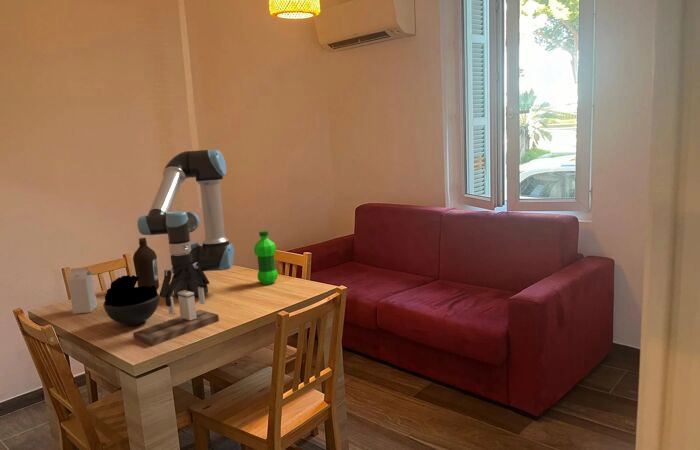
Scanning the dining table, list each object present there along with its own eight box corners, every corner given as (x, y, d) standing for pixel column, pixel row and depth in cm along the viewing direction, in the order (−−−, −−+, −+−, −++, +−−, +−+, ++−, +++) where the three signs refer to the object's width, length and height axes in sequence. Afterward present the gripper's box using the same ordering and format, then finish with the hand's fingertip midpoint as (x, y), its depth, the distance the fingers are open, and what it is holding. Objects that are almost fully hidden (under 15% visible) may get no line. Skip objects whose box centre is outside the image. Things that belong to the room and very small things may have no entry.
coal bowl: (142, 311, 215) (136, 268, 212) (172, 319, 204) (166, 273, 200) (96, 327, 199) (89, 280, 196) (125, 336, 188) (118, 286, 184)
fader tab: (189, 320, 191) (186, 294, 190) (180, 317, 195) (177, 292, 194) (197, 318, 194) (194, 292, 192) (187, 315, 198) (184, 290, 196)
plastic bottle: (261, 279, 253) (257, 229, 249) (282, 279, 251) (277, 229, 247) (254, 285, 244) (249, 233, 240) (275, 285, 242) (270, 233, 237)
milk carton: (80, 308, 225) (73, 266, 222) (97, 307, 225) (90, 265, 222) (73, 314, 218) (66, 270, 215) (90, 312, 218) (84, 269, 215)
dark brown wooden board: (151, 346, 177) (150, 339, 176) (134, 339, 184) (133, 332, 184) (218, 320, 198) (218, 314, 198) (200, 315, 206) (199, 309, 205)
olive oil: (135, 293, 244) (128, 241, 240) (139, 287, 255) (132, 237, 250) (158, 290, 247) (152, 239, 242) (161, 284, 257) (155, 235, 253)
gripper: (155, 261, 179) (163, 320, 182) (214, 247, 197) (220, 301, 201) (144, 259, 183) (152, 317, 187) (203, 245, 202) (209, 298, 206)
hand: (187, 308), depth 194 cm, fingers open, 12 cm apart
